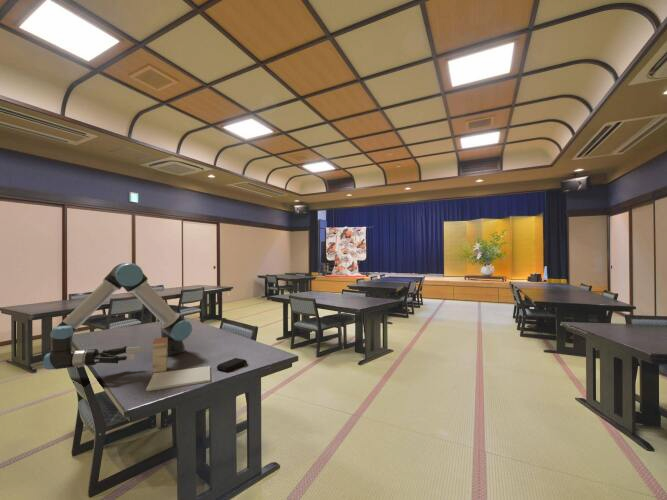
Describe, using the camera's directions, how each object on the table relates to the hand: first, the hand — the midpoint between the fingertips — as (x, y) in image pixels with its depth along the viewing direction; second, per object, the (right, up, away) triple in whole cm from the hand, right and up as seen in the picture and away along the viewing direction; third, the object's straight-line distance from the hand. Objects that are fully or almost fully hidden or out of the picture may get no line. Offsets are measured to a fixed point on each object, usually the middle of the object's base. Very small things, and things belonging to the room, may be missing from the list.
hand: (138, 352), depth 155 cm
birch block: (+9, -10, +4) cm, 14 cm away
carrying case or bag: (+46, -11, +7) cm, 48 cm away
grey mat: (+26, -10, -8) cm, 29 cm away
